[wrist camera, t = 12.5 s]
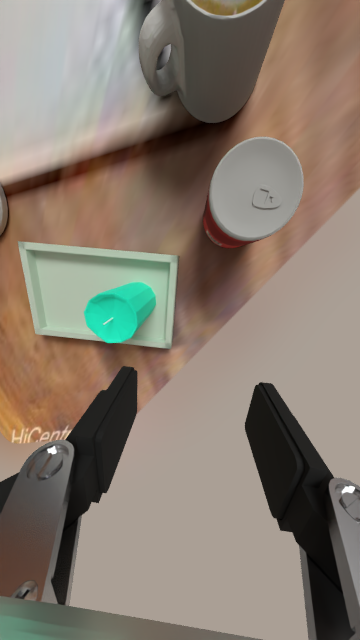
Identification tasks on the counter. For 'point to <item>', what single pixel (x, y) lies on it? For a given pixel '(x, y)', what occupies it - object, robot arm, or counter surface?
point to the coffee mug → (208, 52)
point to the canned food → (252, 192)
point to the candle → (120, 311)
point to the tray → (96, 288)
